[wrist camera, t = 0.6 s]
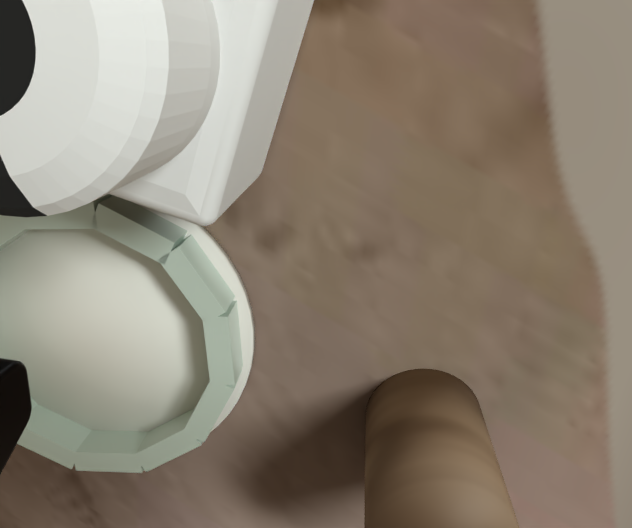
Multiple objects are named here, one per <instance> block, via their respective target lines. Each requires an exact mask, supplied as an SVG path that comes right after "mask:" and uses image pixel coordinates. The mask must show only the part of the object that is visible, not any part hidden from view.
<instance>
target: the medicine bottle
mask: <svg viewBox="0 0 632 528" xmlns="http://www.w3.org/2000/svg"><path fill="white" fill-rule="evenodd" d="M313 2H314V0H0V215H3V216H14V217H39V216H49V215H54V214H58V213H63V212H67V211H70V210H73V209H76V208H78V207H81V206H83V205H86V204H88V203H90V202H92V201H94V200H96V199H98V198H100V197H102V196H104V195H106V194H111V195H114V196H117V197H120V198H122V199H125V200H128V201H131V202H134V203H137V204H139V205H142V206H145V207H148V208H151V209H154V210H156V211H159V212H162V213H165V214H168V215H171V216H174V217H176V218H179V219H182V220H185V221H188V222H191V223H193V224H196V225H200V226H208V225H210V224H212V223H214V222H215V221H216V220H217V219H218V218H219V217H220V216H221V215H222V214H223V213H224V212H225V210H226V209H227V208H228V207H229V206H230V205H231V204H232V203H233V202H234V201H235V200H236V199H237V198H238V197H239V196H240V195H241V194H242V193H243V192H244V191H245V190H246V189H247V188H248V187H249V186H250V185H251V184H252V183H253V182H254V181H255V180H256V179H257V178H258V177H259V175H260V174H261V172H262V169H263V166H264V163H265V159H266V156H267V153H268V150H269V146H270V143H271V140H272V136H273V133H274V130H275V127H276V123H277V120H278V117H279V113H280V110H281V107H282V104H283V100H284V97H285V94H286V91H287V87H288V84H289V81H290V77H291V74H292V71H293V68H294V64H295V61H296V58H297V54H298V51H299V48H300V45H301V41H302V38H303V35H304V31H305V28H306V25H307V22H308V18H309V15H310V12H311V9H312V5H313Z"/></svg>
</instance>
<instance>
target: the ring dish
mask: <svg viewBox="0 0 632 528" xmlns="http://www.w3.org/2000/svg"><path fill="white" fill-rule="evenodd" d="M254 350H255V325H254V318H253V312H252V307H251V304H250V300H249V297H248V294H247V290H246V288H245V286H244V284H243V282H242V279H241V277H240V275H239V273H238V271H237V269H236V268H235V266H234V264H233V263H232V261H231V259H230V258H229V256H228V255H227V253H226V252H225V251H224V250H223V248H222V247H221V246H220V244H219V243H218V242H217V241H216V239H215V238H214V237H213V236H212V235H211V234H210V233H209V232H208V231H207V230H206V229H205V228H204V227H203V226H200V225H196V224H193V223H191V222H188V221H185V220H182V219H179V218H176V217H174V216H171V215H168V214H165V213H162V212H159V211H156V210H154V209H151V208H148V207H145V206H142V205H139V204H137V203H134V202H131V201H128V200H125V199H122V198H120V197H117V196H114V195H111V194H106V195H104V196H102V197H100V198H98V199H96V200H94V201H92V202H90V203H88V204H86V205H83V206H81V207H78V208H76V209H73V210H70V211H67V212H63V213H58V214H54V215H49V216H39V217H14V216H3V215H0V358H4V359H11V360H17V361H20V362H22V363H23V364H24V365H25V366H26V369H27V374H28V382H29V389H30V396H31V403H32V410H31V415H30V419H29V421H28V423H27V425H26V427H25V429H24V431H23V433H22V435H21V437H20V439H19V440H18V442H17V444H19V445H21V446H23V447H25V448H27V449H29V450H31V451H33V452H36V453H38V454H40V455H42V456H44V457H46V458H48V459H50V460H53V461H55V462H57V463H59V464H61V465H63V466H65V467H67V468H70V469H72V468H73V467H74V465H75V468H76V471H101V472H129V473H142V472H143V470H145V471H146V472H148V471H150V470H152V469H154V468H156V467H158V466H160V465H162V464H164V463H166V462H168V461H170V460H172V459H174V458H176V457H178V456H180V455H182V454H184V453H186V452H188V451H191V450H193V449H195V448H197V447H199V446H201V445H202V442H205V440H206V439H207V437H208V435H209V433H210V432H211V431H212V430H214V429H215V428H216V427H217V426H218V425H219V424H220V423H221V422H222V421H223V420H224V419H225V418H226V417H227V416H228V415H229V413H230V412H231V410H232V409H233V407H234V406H235V405H236V403H237V402H238V400H239V398H240V396H241V393H242V391H243V389H244V387H245V385H246V382H247V380H248V377H249V373H250V370H251V367H252V363H253V357H254Z"/></svg>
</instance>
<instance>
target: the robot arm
mask: <svg viewBox="0 0 632 528" xmlns="http://www.w3.org/2000/svg"><path fill="white" fill-rule="evenodd" d="M31 410H32V403H31V396H30V389H29V382H28V374H27V369H26V366H25V365H24V364H23V363H22V362H20V361H17V360H11V359H4V358H0V474H1V472H2V470H3V468H4V467H5V465H6V463H7V461H8V459H9V457H10V455H11V454H12V452H13V450H14V448H15V446H16V444H17V442H18V440H19V439H20V437H21V435H22V433H23V431H24V429H25V427H26V425H27V423H28V421H29V419H30V415H31Z"/></svg>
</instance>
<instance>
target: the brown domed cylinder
mask: <svg viewBox="0 0 632 528" xmlns="http://www.w3.org/2000/svg"><path fill="white" fill-rule="evenodd" d="M365 528H519V525H518V522H517V519H516V516H515V513H514V509H513V506H512V503H511V500H510V497H509V494H508V491H507V488H506V485H505V482H504V479H503V476H502V473H501V470H500V467H499V463H498V460H497V457H496V454H495V451H494V448H493V445H492V442H491V439H490V436H489V433H488V430H487V427H486V424H485V421H484V418H483V414H482V411H481V408H480V405H479V402H478V400H477V398H476V396H475V394H474V393H473V391H472V390H471V389H470V388H469V387H468V386H467V385H466V384H465V383H464V382H463V381H461V380H460V379H458V378H457V377H455V376H453V375H451V374H448V373H446V372H442V371H438V370H433V369H414V370H408V371H405V372H401V373H399V374H396V375H394V376H392V377H390V378H389V379H387V380H386V381H384V382H383V383H382V384H381V385H380V386H379V387H378V388H377V389H376V390H375V391H374V393H373V394H372V396H371V397H370V399H369V402H368V404H367V408H366V416H365Z"/></svg>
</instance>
